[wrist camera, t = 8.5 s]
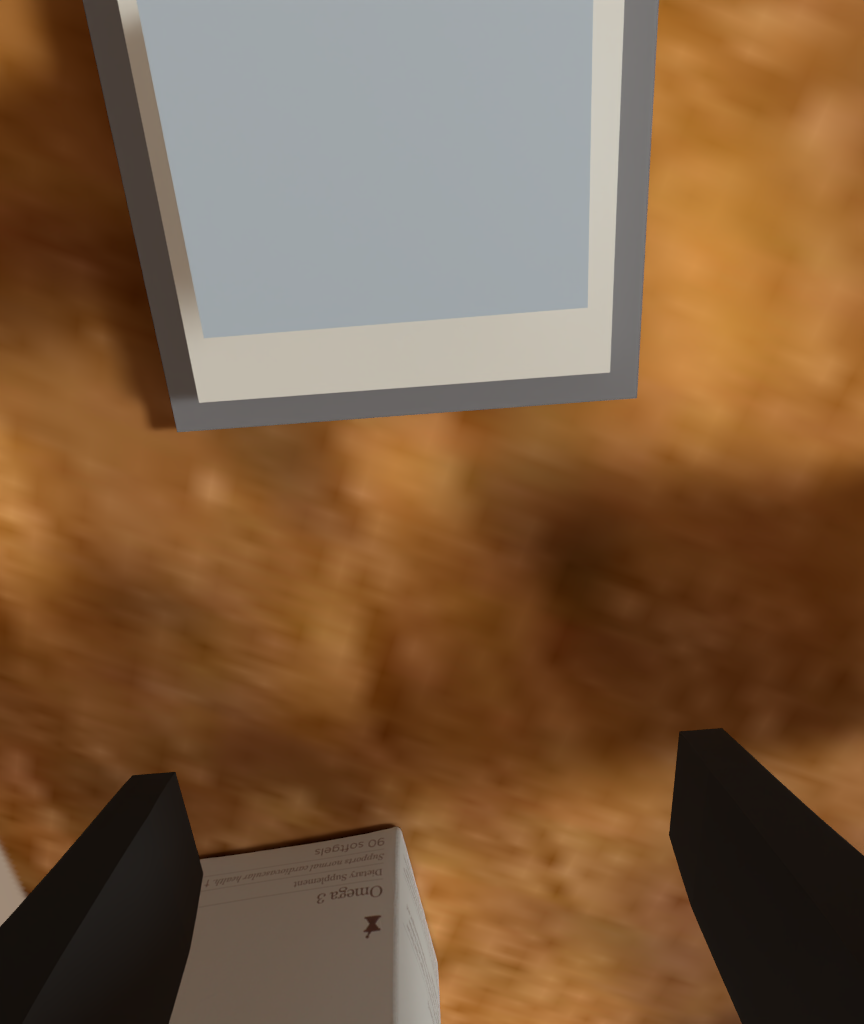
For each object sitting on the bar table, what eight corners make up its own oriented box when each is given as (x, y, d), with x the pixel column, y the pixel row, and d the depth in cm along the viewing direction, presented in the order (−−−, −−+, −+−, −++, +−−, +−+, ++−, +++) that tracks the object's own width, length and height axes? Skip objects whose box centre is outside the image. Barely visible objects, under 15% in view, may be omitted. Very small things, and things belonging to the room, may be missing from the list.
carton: (495, 240, 15) (587, 307, 8) (297, 256, 15) (204, 338, 8) (486, -29, 13) (597, -278, 6) (259, -13, 13) (88, -241, 6)
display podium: (627, 389, 18) (652, 412, 17) (186, 421, 18) (163, 449, 17) (659, -257, 13) (700, -324, 12) (49, -219, 13) (-6, -280, 11)
